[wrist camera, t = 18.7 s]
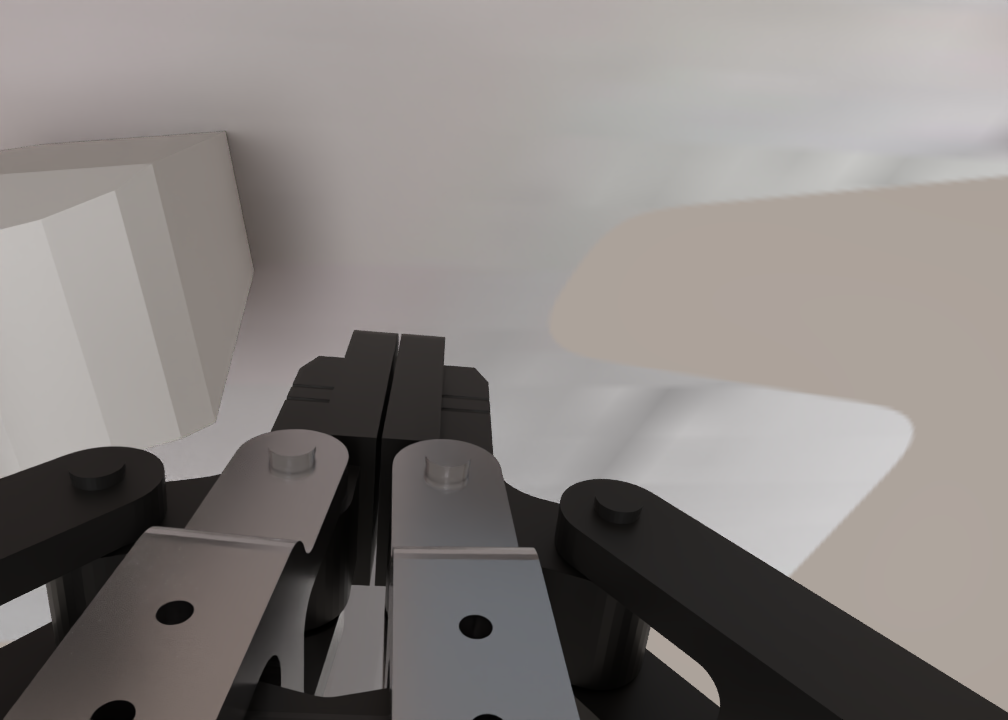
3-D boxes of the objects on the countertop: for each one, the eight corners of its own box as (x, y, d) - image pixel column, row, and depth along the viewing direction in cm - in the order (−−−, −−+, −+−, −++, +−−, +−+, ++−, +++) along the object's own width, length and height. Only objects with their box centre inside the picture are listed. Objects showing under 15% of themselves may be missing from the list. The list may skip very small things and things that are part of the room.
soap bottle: (56, 337, 39) (-583, 845, 15) (-12, 127, 34) (-1038, 376, 11) (305, 318, 39) (59, 790, 15) (266, 108, 35) (-151, 308, 11)
